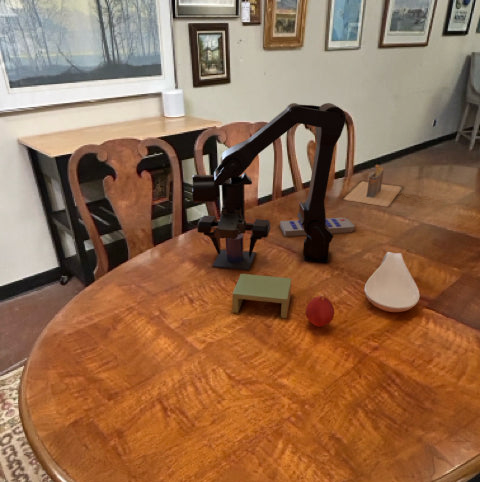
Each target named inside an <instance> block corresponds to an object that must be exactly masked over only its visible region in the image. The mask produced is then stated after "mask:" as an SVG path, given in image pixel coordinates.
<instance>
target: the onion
mask: <svg viewBox="0 0 480 482" xmlns="http://www.w3.org/2000/svg"><path fill="white" fill-rule="evenodd" d="M334 315H335V307H334V305H333V303H332V302H331V301H330V300H329V299H328V298H327V297H325V295H324V294H320V295H318V296H316V297H313V298H312V299H311V300H310V301H309V302H308V303H307V305H306V308H305V316H306V318H307V320H308V322H309V323H311V324H312V325H314V326H315V327H317V328H321V327H324V326H327V325H329V324H330V323H332V321H333V320H334Z"/></svg>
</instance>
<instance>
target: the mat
mask: <svg viewBox="0 0 480 482" xmlns="http://www.w3.org/2000/svg"><path fill="white" fill-rule="evenodd" d="M256 254H257V252H255V251H253V252H252V254H251V257H249V251H247V250H244V260H243V261H241V262H239V263H231V262H228V261H227V260H226V249H221V251H220V254H217V257H216V259H215V260H214V261H213V264H212V268H217V269H229V270H230V269H231V270H240V271H250V269H251V267H252V264H253V262H254V259H255V256H256Z"/></svg>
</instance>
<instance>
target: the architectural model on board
mask: <svg viewBox="0 0 480 482" xmlns="http://www.w3.org/2000/svg"><path fill="white" fill-rule="evenodd" d="M374 166H375V171H374V172H373V173H372V174H371V175H370V176H369V177H368V181H360V182H359V183H358V184H357V185H356V186H355V187H354V188H353V189H352V190H351V191H350V192H349V193H348V194H347V195H345V196H344V198H343V200H345V201H350V202H356V203H362V204H368V205H374V206H380V207H387V208H388V207H389V206H390V205H391V203H392V202H393V200H394V199H395V197H396V196H397V195H398V194H399V192H400V191H401V190H402V189H403V187H402V186H398V185H391V184H384V183H383V178H384V173H385V172H384V170H385V169H384V167H382V166H380V165H379V164H377V163H376V165H374Z"/></svg>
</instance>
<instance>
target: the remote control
mask: <svg viewBox="0 0 480 482" xmlns="http://www.w3.org/2000/svg"><path fill="white" fill-rule="evenodd" d="M326 225H327V226H328V228H329V229H330V231H331V233H332V234H344V233H345V234H346V233H352V232H354V231H355V229H356V225H355V224H354V223H353V222H352V221H351V220H350V219H349V218H347V217H330V218H326ZM279 227H280V229H281V231H282V233H283V235H284V237H295V236H307V234H306V233H305V231H304V229H303V227H302V225H301V223H300V220H299V219H296V220H280V222H279Z"/></svg>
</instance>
